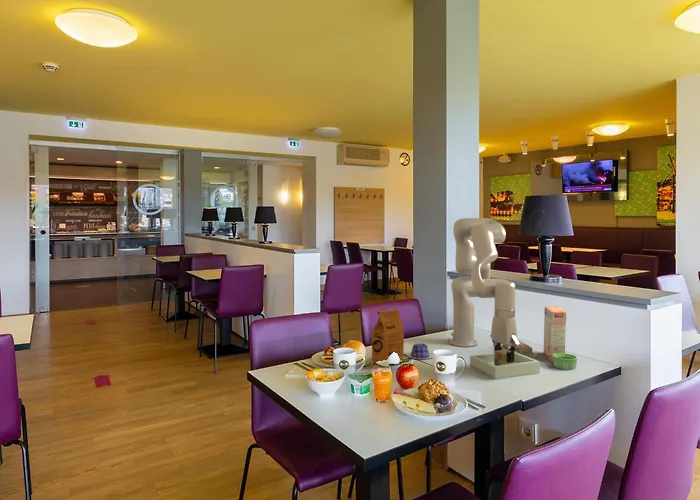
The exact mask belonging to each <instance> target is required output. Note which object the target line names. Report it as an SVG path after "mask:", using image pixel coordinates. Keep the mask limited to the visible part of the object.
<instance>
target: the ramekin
mask: <svg viewBox="0 0 700 500" xmlns="http://www.w3.org/2000/svg"><path fill="white" fill-rule="evenodd" d="M552 363H553V367H555V368H557V369H559V368H560V369H559V370H568V371H569V370H575V369H576V368H577V363H578V356H577V355H574V354H571V353H566V352H565V353H555V354H553V362H552Z"/></svg>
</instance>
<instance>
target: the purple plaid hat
mask: <svg viewBox="0 0 700 500" xmlns="http://www.w3.org/2000/svg"><path fill="white" fill-rule="evenodd" d="M432 354H433V353H432V352H430V351H429V348H428V345H427V344H426V343H421V342H420V343H419V342H418V343H414V344H413V345H412V348H411V351H409V352H407V353H406V354H405V356H406V357H408V358H411V359H416V360H428V359H432V358H433V357H432Z"/></svg>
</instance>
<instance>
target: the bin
mask: <svg viewBox="0 0 700 500" xmlns="http://www.w3.org/2000/svg"><path fill="white" fill-rule="evenodd" d="M540 363H541V362H540V361H539V360H537V359H535V358H533V357H527V356H524V355H521V354H519V353H516V352H515V354H514V362H513V364H507V365H500V366H495V365H494V352H491V353H483V354H475V355H474V354H473V355H470V356H469V367H470V368H471V369H474V370H476V371H478V372H479V373H482V374H484V375H485V376H488V377H490V379H491V378H492V379H494V380H501V379H509V378H515V377H516V378H517V377H521V376H523V377H524V376H529V375H535V374H540V372H541V371H540V370H541V365H540Z"/></svg>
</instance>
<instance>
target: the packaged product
mask: <svg viewBox="0 0 700 500" xmlns="http://www.w3.org/2000/svg"><path fill="white" fill-rule="evenodd" d="M517 341H518V342H519V346H518V348H517V349H516V353H519V354H521V355H524V356H527V357H529V358H537V353H535V352H533V347H532V346H530V345H528V344H526V343H525V342H523V341H521V340H518V339H517ZM510 344H511V343H510ZM501 347H502V350H507V346H506V345H503V344H501ZM511 347H512V346H510V348H511ZM507 351H508V350H507Z"/></svg>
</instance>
